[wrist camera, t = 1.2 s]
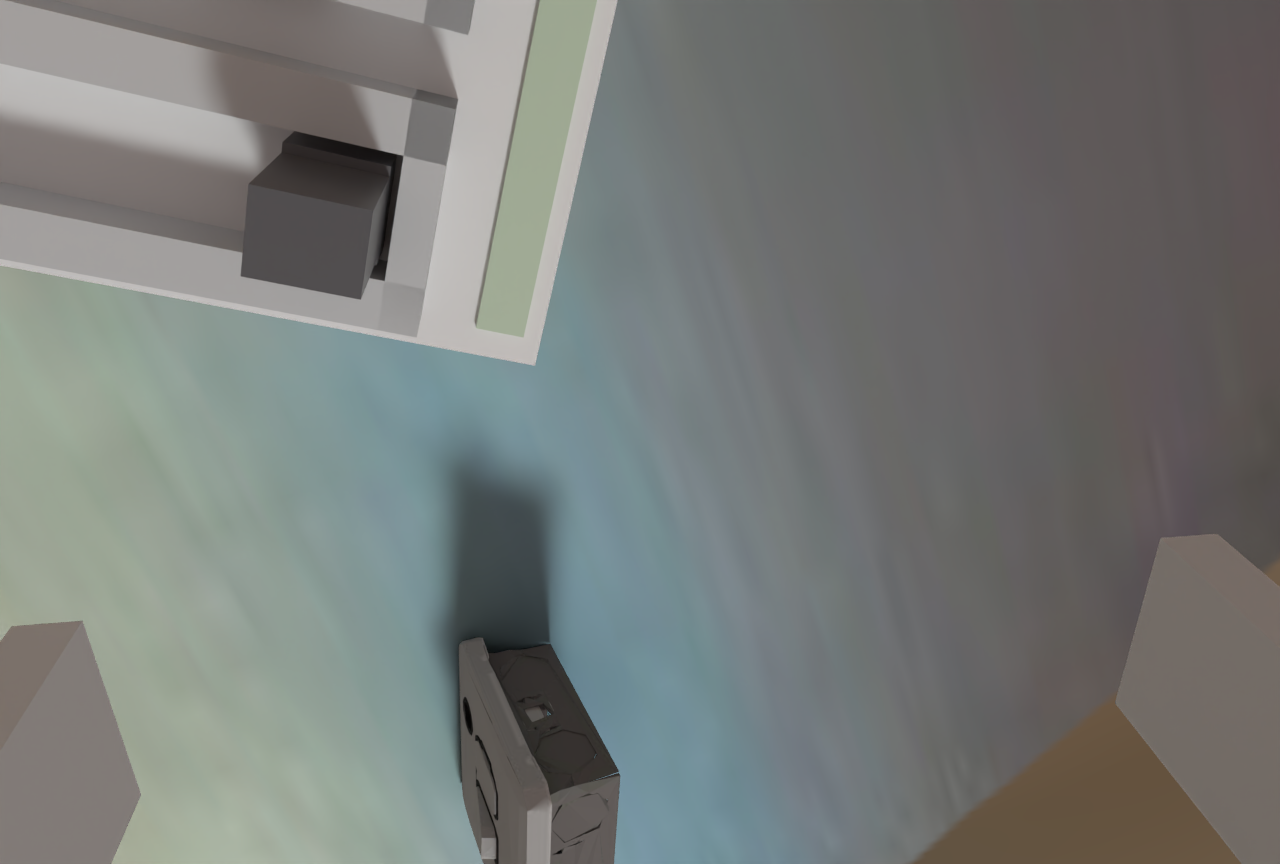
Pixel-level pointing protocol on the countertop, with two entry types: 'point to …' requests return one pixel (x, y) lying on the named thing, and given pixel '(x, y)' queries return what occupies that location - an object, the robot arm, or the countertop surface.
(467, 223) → the panel
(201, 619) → the countertop surface
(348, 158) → the block
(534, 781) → the electrical switch
